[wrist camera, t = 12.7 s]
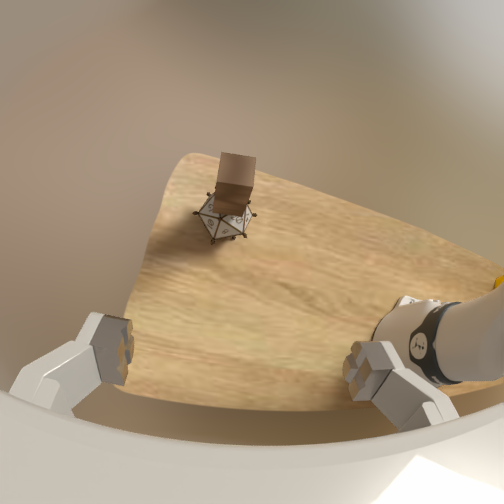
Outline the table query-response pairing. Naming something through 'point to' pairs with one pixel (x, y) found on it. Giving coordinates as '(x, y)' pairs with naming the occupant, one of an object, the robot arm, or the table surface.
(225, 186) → the walnut block
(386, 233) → the table surface
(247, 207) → the game die
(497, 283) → the element tile
